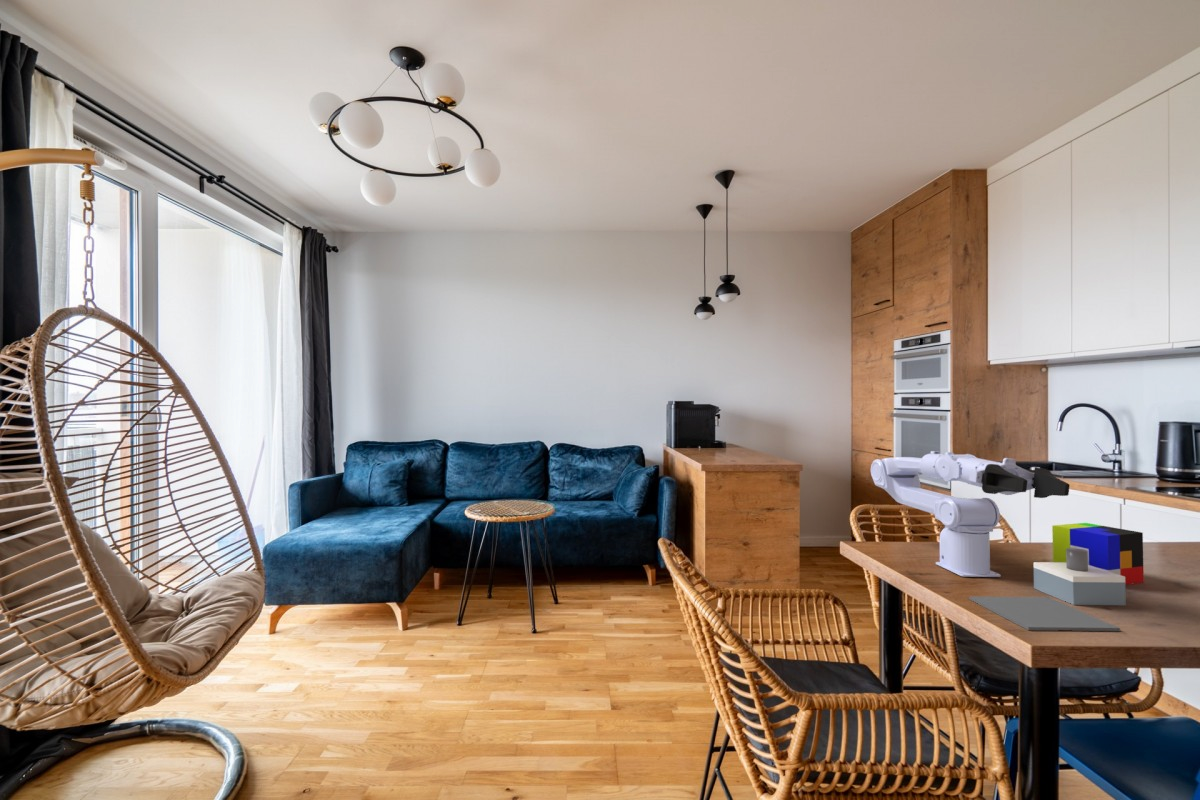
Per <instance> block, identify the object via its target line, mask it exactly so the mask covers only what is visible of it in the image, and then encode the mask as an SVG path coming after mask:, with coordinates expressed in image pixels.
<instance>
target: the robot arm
mask: <svg viewBox="0 0 1200 800" xmlns="http://www.w3.org/2000/svg"><path fill="white" fill-rule="evenodd" d="M1016 462H1017V461H1016V459H1015V458H1012V457H1011V458H1010V457H1009V458H1008V457H1004V458H1003V460H1002V462H999V461H994V460H989V459H985V458H979V457H976V456H975V455H974V454H970V453H966V454H965V453H964V454H955V453H954V452H952V451H950V452H949V451H946V452H945V453H941V451H939V450H936V451H935V450H931V451H930V453H927V454H924V455H923V456H922V457H915V456H914V457H912V456H896V457H885V458H881V459H879V458H876V459H874V460H873V461H872V463H871V465H870V475H871V478H872V480H873V483H874V485H875V486H876V487H878V488H881V489H883V490H885V492H887V494H888V495H889V496H891V498H892V499H894V500H895V502H897V503H899V504H901V505H904V506H906V507H910V508H913V509H918V510H920V511H922V512H925V513H929V514H933V515H934V517H935V520H938V521H940V522H941V524H943V525H944V528H943V529H942V530H941V531H940V533H939V561H935V565H937V566H939V567H941V568H943V569H945V570H948V571H949V572H952V573H953V574H957V575H958V576H960V577H966V578H967V577H969V578H970V577H971V578H974V577H975V578H981V577H982V578H1001V574H1000V573H998V572H995V571H993V570H991V554H990V553H991V550H990V547H991V545H990V542H991V541H990V533H992V532H994V528H995V527H996V526H997V525H998V524H999V521H1000V517H1001V513H1000V512H1001V511H1000V508H999V507H998V505H997V503H996V502H995V501H994V500H993V499H991V498H989V497H982V498H965V497H956V496H952V495H950V494H949V495H948V494H945V493H941V492H938V491H937V492H936V491H934V490H930V489H925V488H922V486H921V480H920V477H919V476H920V475H919V472H921V473H922V475H923V476H925V477H927V478H930V479H937V480H943V481H944V482H947V483H948V482H953V481H954V482H962V483H966V484H968V485H971V486H975V487H979V488H981V490H982V492H983V493H985V494H992V495H993V494H994V495H996V494H1000V495H1005V496H1012V495H1016V494H1019V493H1026V492H1027V491H1031V490H1034V492H1033V493H1034V495H1033V498H1038V499H1045V498H1048V497H1051V496H1060V497H1061V496H1062V497H1065V496H1066V497H1067V496H1069V494H1070V484H1069V483H1068V482H1066V481H1064V480H1062V479H1060V478H1058V477H1056V476H1055V475H1054V474H1053V473H1052V472H1051V471H1050V470H1049V469H1047V468H1042V467H1034V473H1033V472H1032V471H1029V470H1027V469H1025V468H1022V467H1020V466H1018V465H1017V464H1016Z"/></svg>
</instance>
